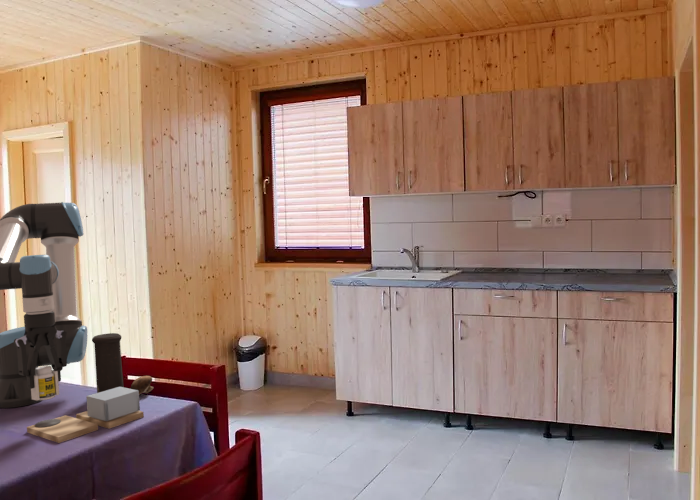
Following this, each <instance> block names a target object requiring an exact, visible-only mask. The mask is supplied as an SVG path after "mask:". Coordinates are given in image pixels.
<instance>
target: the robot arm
mask: <svg viewBox="0 0 700 500" xmlns="http://www.w3.org/2000/svg"><path fill="white" fill-rule="evenodd" d="M83 236H84V228H83V222H82V216H81V213H80V210H79V207H78V205H77V204H76V203H75V202H64V201H61V202H47V203H46V202H43V203H26V204H25V203H24V204H22V205H18V206H16V207H15V208H12V209H10V210H9V211H8V212H6V213H4V215H2V217H1V218H0V291H4V290H18V289H21V295H22V298H21V299H22V310H23V312H24V313H25V314H24V315H23V323H24V324H23V325H24V326H22V327H21V326H19V327H16V328H12V329H8V330H5V331H2V332H0V408H1V409H10V408H17V407H19V408H20V407H24V406H29V405H32V404H37V403H40V402H42V401H43V400H40V398H39V385H38V376H36V375H37V374H36V371H35V369H36V368H38V367H42V366H51V367H52V372H51V373H53V374H54V385H55V396H59V395H60V387H59V385H60V384H59V382H61V381H62V378H61V377H62V375H61V371H62V370H63V368H64V367H67V366H68V365H69V364H72V363H79V362H81V361H83V360H84V358H85V356H86V353H87V348H88V347H87V345H88V327H87V326H86V325H84V324H83V321H82V319H80V318H79V317H78V315H77V314H78V311H77V291H76V289H77V288H76V287H77V286H76V285H77V284H76V261H75V260H76V259H75V246H77V244H78V243H79V242H80V240H79V238H81V237H83ZM28 239H29V240H30V239H40V243H41V244H42V245H43V246H44V247H45V252H46V253H45V254H33V255H23V256H21V257H20V258H19V261H16V259H17V256H18V254H19V252H20V249H21V246H22V244H23V243H24V242H26V240H28Z"/></svg>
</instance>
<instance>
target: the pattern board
mask: <svg viewBox="0 0 700 500" xmlns="http://www.w3.org/2000/svg"><path fill="white" fill-rule="evenodd" d="M144 413H145V412H144V410H143V411H141V410H139V411H136V412H133V413H130V414H127V415H124V416H121V417H118V418H115V419H112V420H109V421H104V420H100V419H96V418H93V417H89V416H88V411H87V410H86V411H83V412H79V413H76V414H75V418H77V419H80V420H84V421H88V422H91V423H95V424H98V427H102V428H105V429H109V430H110V429H112V428H116V427H117V426H118V427H119V426H122V425H123V424H126V423H130V422H133V421H136V420H139V419H141V418H144Z"/></svg>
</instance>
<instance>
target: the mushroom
mask: <svg viewBox="0 0 700 500" xmlns="http://www.w3.org/2000/svg"><path fill="white" fill-rule="evenodd" d="M152 381H153V377H152V376H150V375H143V376H139V377H137V378H135V379H134V380H133V382H132V384H131V386H130V389H134V390H138V391H139V396H140V395H141V394H143V393H144V394H149V393H150V392H151V391H153V389H154V388H155V387H154V386H151V383H152Z"/></svg>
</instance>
